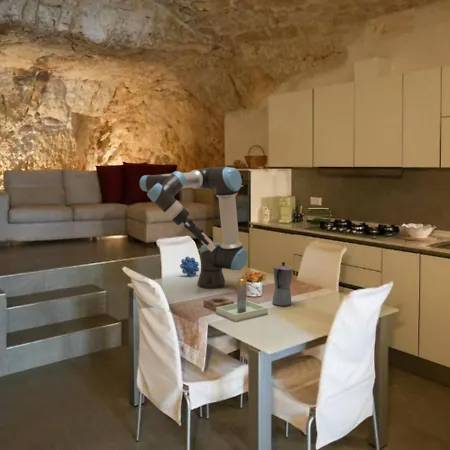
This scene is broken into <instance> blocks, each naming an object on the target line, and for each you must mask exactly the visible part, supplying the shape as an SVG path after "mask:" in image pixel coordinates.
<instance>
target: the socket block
mask: <svg viewBox="0 0 450 450" xmlns="http://www.w3.org/2000/svg"><path fill="white" fill-rule="evenodd" d="M230 304H235V303H234V301H233V300H231V299H228V298H225V297H223V296H218V297H212V298H209V299H203V307H204V308H206V309H208V310H212V311H214V312H216V307H220V306H225V305H230Z"/></svg>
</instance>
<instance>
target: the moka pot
mask: <svg viewBox="0 0 450 450" xmlns="http://www.w3.org/2000/svg"><path fill="white" fill-rule="evenodd" d="M293 273H294V269H293V267H291V266H288V265H287V266H286V262H285V261H283V262H281V265H278V266H273V278H274V292H273V297H272V302H271V303H272V304H273V305H276V306H284V307H285V306H291V305H292V297H291V296H292V295H291V294H292V293H291V285H292V279H293Z"/></svg>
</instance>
